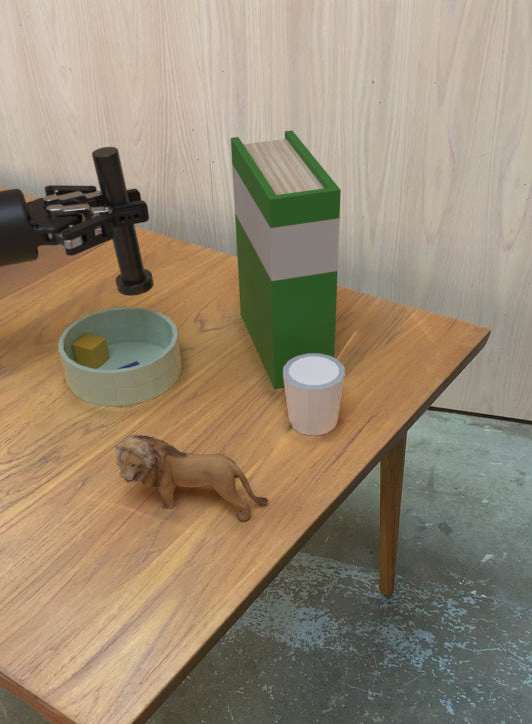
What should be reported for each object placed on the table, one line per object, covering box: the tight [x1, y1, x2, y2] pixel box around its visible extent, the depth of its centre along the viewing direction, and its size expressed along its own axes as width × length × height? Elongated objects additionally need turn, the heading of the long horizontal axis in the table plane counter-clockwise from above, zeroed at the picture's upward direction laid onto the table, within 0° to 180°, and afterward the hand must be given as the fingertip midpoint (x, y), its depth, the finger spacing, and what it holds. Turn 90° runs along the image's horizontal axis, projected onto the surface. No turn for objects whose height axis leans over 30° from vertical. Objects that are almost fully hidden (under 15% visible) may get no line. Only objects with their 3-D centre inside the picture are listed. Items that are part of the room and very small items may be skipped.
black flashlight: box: [91, 146, 155, 297], centre depth 88 cm, size 4×4×16 cm
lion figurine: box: [114, 434, 269, 522], centre depth 77 cm, size 15×5×9 cm, turn 90°
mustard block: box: [72, 333, 110, 369], centre depth 98 cm, size 3×3×3 cm
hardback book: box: [230, 129, 342, 390], centre depth 92 cm, size 18×7×24 cm, turn 15°
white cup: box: [283, 353, 346, 436], centre depth 88 cm, size 7×7×7 cm
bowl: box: [58, 306, 183, 408], centre depth 96 cm, size 14×14×6 cm
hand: (143, 204), depth 87 cm, fingers closed on black flashlight, 3 cm apart
